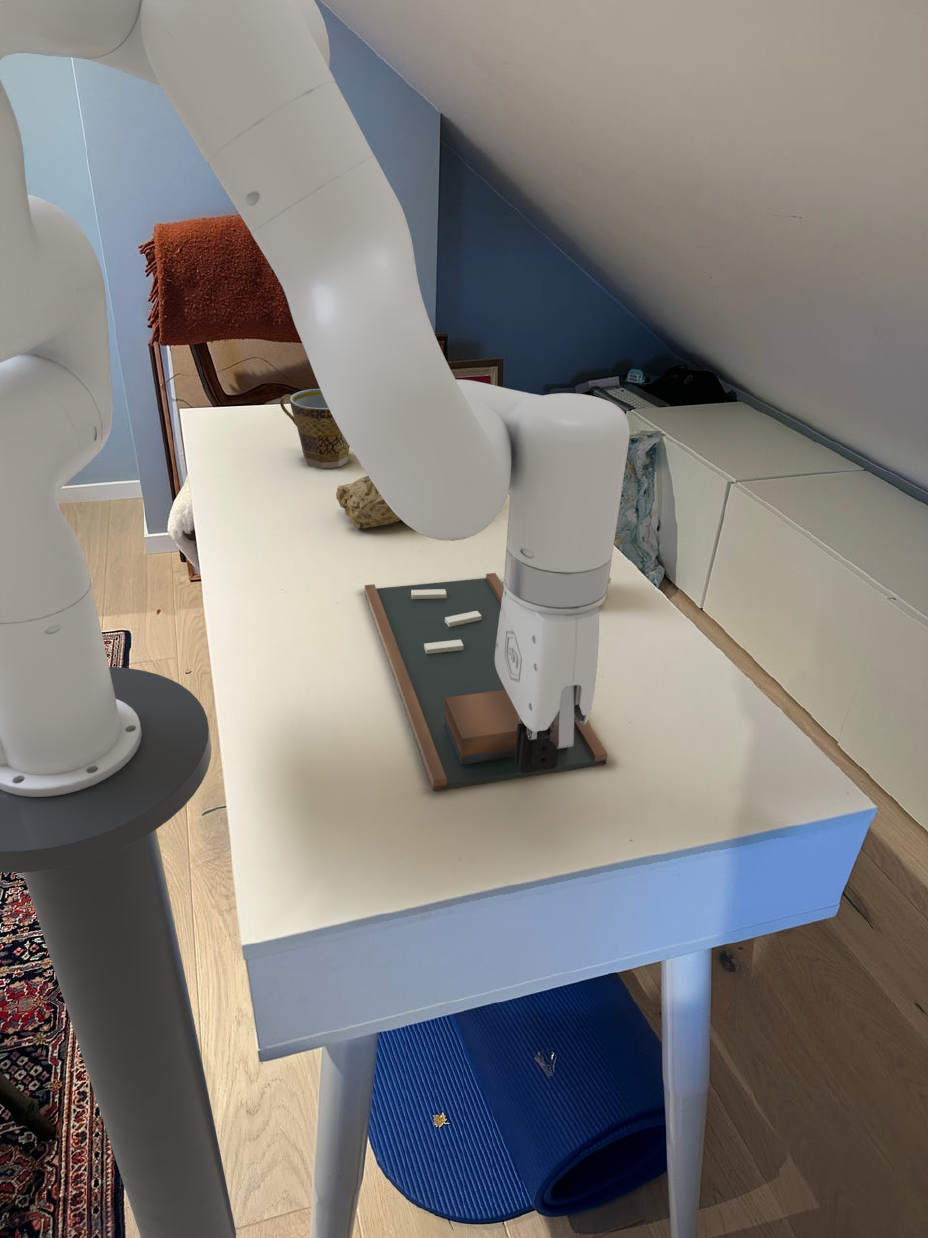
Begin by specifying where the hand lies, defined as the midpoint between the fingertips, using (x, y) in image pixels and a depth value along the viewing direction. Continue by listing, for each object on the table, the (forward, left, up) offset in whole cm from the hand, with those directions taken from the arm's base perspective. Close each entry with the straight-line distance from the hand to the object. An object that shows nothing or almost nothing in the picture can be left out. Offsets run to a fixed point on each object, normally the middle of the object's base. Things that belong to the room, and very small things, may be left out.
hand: (535, 764), depth 72 cm
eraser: (0, +7, -3) cm, 8 cm away
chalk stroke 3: (+1, +27, -3) cm, 27 cm away
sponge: (+2, +58, -4) cm, 58 cm away
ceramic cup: (-8, +79, -4) cm, 80 cm away
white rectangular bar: (-1, +33, -3) cm, 33 cm away
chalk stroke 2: (-2, +22, -3) cm, 23 cm away
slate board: (0, +19, -3) cm, 20 cm away
